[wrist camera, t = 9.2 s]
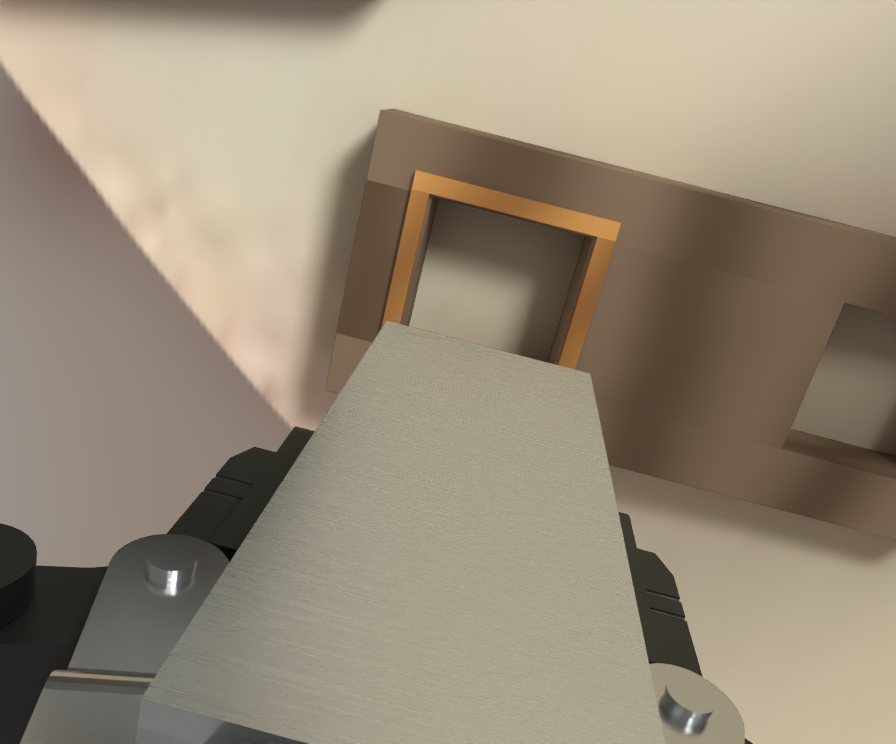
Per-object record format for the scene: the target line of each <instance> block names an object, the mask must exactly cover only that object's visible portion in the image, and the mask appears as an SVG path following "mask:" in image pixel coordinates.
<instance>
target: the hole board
mask: <svg viewBox="0 0 896 744" xmlns="http://www.w3.org/2000/svg"><path fill="white" fill-rule="evenodd" d="M438 198H440V199H444V200H448V201H452V202H456V203H459V204H463V205H467V206H471V207H475V208H479V209H483V210H487V211H490V212H494V213H498V214H502V215H506V216H510V217H514V218H518V219H522V220H525V221H529V222H533V223H537V224H541V225H545V226H549V227H553V228H556V229H560V230H564V231H568V232H572V233H576V234H580V235H584V236H585V239H584V243H583V246H582V249H581V253H580V256H579V259H578V262H577V266H576V269H575V272H574V276H573V279H572V282H571V286H570V289H569V292H568V296H567V299H566V302H565V306H564V309H563V312H562V316H561V319H560V322H559V325H558V329H557V332H556V335H555V339H554V342H553V345H552V349H551V352H550V355H549V359H548V362H547V363H551V364H555V365H559V366H563V367H566V368H570V369H574V370H578V371H582V372H586V373H589V374H590V375H591V380H592V385H593V390H594V395H595V400H596V404H597V409H598V414H599V419H600V424H601V429H602V434H603V439H604V444H605V449H606V454H607V459H608V464H609V465H612V466H616V467H620V468H624V469H628V470H631V471H635V472H639V473H643V474H647V475H650V476H654V477H658V478H662V479H666V480H670V481H673V482H677V483H681V484H685V485H689V486H692V487H696V488H700V489H704V490H708V491H711V492H715V493H719V494H723V495H727V496H730V497H734V498H738V499H742V500H746V501H750V502H753V503H757V504H761V505H765V506H769V507H772V508H776V509H780V510H784V511H788V512H791V513H795V514H799V515H803V516H807V517H810V518H814V519H818V520H822V521H826V522H830V523H833V524H837V525H841V526H845V527H849V528H852V529H856V530H860V531H864V532H868V533H871V534H875V535H879V536H883V537H887V538H890V539H894V540H896V456H892V455H888V454H884V453H880V452H876V451H873V450H869V449H865V448H861V447H857V446H853V445H850V444H846V443H842V442H838V441H834V440H830V439H827V438H823V437H819V436H815V435H811V434H807V433H804V432H800V431H796V430H792V429H790V428H791V426H792V423H793V421H794V419H795V416H796V414H797V412H798V409H799V407H800V405H801V402H802V400H803V398H804V396H805V393H806V391H807V389H808V386H809V384H810V382H811V379H812V377H813V375H814V372H815V370H816V368H817V365H818V363H819V361H820V359H821V356H822V354H823V352H824V349H825V347H826V345H827V342H828V340H829V338H830V335H831V333H832V331H833V328H834V326H835V324H836V321H837V319H838V317H839V315H840V312H841V310H842V308H843V305H844V303H848V304H852V305H855V306H859V307H863V308H867V309H871V310H875V311H879V312H883V313H886V314H890V315H894V316H896V237H892V236H888V235H884V234H881V233H877V232H873V231H869V230H865V229H861V228H857V227H853V226H849V225H845V224H841V223H838V222H834V221H830V220H826V219H822V218H818V217H814V216H810V215H806V214H802V213H799V212H795V211H791V210H787V209H783V208H779V207H775V206H771V205H767V204H763V203H759V202H756V201H752V200H748V199H744V198H740V197H736V196H732V195H728V194H724V193H720V192H716V191H713V190H709V189H705V188H701V187H697V186H693V185H689V184H685V183H681V182H677V181H673V180H670V179H666V178H662V177H658V176H654V175H650V174H646V173H642V172H638V171H634V170H630V169H627V168H623V167H619V166H615V165H611V164H607V163H603V162H599V161H595V160H591V159H587V158H584V157H580V156H576V155H572V154H568V153H564V152H560V151H556V150H552V149H548V148H544V147H541V146H537V145H533V144H529V143H525V142H521V141H517V140H513V139H509V138H505V137H501V136H498V135H494V134H490V133H486V132H482V131H478V130H474V129H470V128H466V127H462V126H458V125H455V124H451V123H447V122H443V121H439V120H435V119H431V118H427V117H423V116H419V115H415V114H412V113H408V112H404V111H400V110H396V109H387V110H380V115H379V120H378V125H377V130H376V135H375V140H374V145H373V150H372V155H371V160H370V165H369V170H368V176H367V181H366V186H365V191H364V196H363V201H362V206H361V211H360V216H359V221H358V226H357V231H356V236H355V241H354V247H353V252H352V257H351V262H350V267H349V272H348V277H347V282H346V287H345V292H344V297H343V302H342V307H341V313H340V318H339V323H338V328H337V333H336V338H335V343H334V348H333V353H332V358H331V363H330V368H329V373H328V378H327V384H326V389H325V390H327V391H330V392H334V393H338V394H339V393H340V392H341V390H342V389H343V387H344V386H345V384H346V383H347V381H348V380H349V378H350V377H351V375H352V373H353V372H354V370H355V369H356V367H357V366H358V364H359V363H360V361H361V360H362V358H363V357H364V355H365V353H366V352H367V350H368V349H369V347H370V346H371V344H372V343H373V341H374V340H375V338H376V337H377V335H378V333H379V332H380V330H381V329H382V327H383V326H384V324H385V323H386V321H390V322H394V323H398V324H402V325H405V326H409V323H410V319H411V315H412V310H413V306H414V302H415V297H416V293H417V289H418V284H419V280H420V276H421V271H422V267H423V263H424V258H425V254H426V250H427V245H428V241H429V237H430V232H431V228H432V224H433V219H434V215H435V211H436V206H437V202H438Z"/></svg>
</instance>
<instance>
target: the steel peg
mask: <svg viewBox="0 0 896 744" xmlns="http://www.w3.org/2000/svg"><path fill="white" fill-rule="evenodd" d="M138 727H140V728H144V729H147V730H151V731H155V732H159V733H162V734H166V735H170V736H173V737H177V738H181V739H184V740H188V741H192V742H195V743H199V744H665V740H664V735H663V730H662V725H661V720H660V715H659V710H658V705H657V701H656V696H655V691H654V686H653V681H652V676H651V671H650V666H649V661H648V656H647V651H646V646H645V641H644V636H643V631H642V627H641V622H640V617H639V612H638V607H637V602H636V597H635V592H634V587H633V582H632V577H631V572H630V567H629V562H628V557H627V553H626V548H625V543H624V538H623V533H622V528H621V523H620V518H619V513H618V508H617V503H616V498H615V493H614V488H613V483H612V478H611V474H610V469H609V464H608V459H607V454H606V449H605V444H604V439H603V434H602V429H601V424H600V419H599V414H598V409H597V404H596V400H595V395H594V390H593V385H592V380H591V375H590V374H589V373H586V372H582V371H578V370H574V369H570V368H566V367H563V366H559V365H555V364H551V363H547V362H543V361H540V360H536V359H532V358H528V357H524V356H520V355H517V354H513V353H509V352H505V351H501V350H497V349H494V348H490V347H486V346H482V345H478V344H474V343H471V342H467V341H463V340H459V339H455V338H451V337H448V336H444V335H440V334H436V333H432V332H428V331H425V330H421V329H417V328H413V327H409V326H405V325H402V324H398V323H394V322H390V321H386V323H385V324H384V326H383V327H382V329H381V330H380V332H379V333H378V335H377V337H376V338H375V340H374V341H373V343H372V344H371V346H370V347H369V349H368V350H367V352H366V353H365V355H364V357H363V358H362V360H361V361H360V363H359V364H358V366H357V367H356V369H355V370H354V372H353V373H352V375H351V377H350V378H349V380H348V381H347V383H346V384H345V386H344V387H343V389H342V390H341V392H340V393H339V395H338V396H337V398H336V400H335V401H334V403H333V404H332V406H331V407H330V409H329V410H328V412H327V413H326V415H325V416H324V418H323V420H322V421H321V423H320V424H319V426H318V427H317V429H316V430H315V432H314V433H313V435H312V436H311V438H310V440H309V441H308V443H307V444H306V446H305V447H304V449H303V450H302V452H301V453H300V455H299V456H298V458H297V460H296V461H295V463H294V464H293V466H292V467H291V469H290V470H289V472H288V473H287V475H286V476H285V478H284V480H283V481H282V483H281V484H280V486H279V487H278V489H277V490H276V492H275V493H274V495H273V496H272V498H271V500H270V501H269V503H268V504H267V506H266V507H265V509H264V510H263V512H262V513H261V515H260V516H259V518H258V520H257V521H256V523H255V524H254V526H253V527H252V529H251V530H250V532H249V533H248V535H247V536H246V538H245V540H244V541H243V543H242V544H241V546H240V547H239V549H238V550H237V552H236V553H235V555H234V556H233V558H232V560H231V561H230V563H229V564H228V566H227V567H226V569H225V570H224V572H223V573H222V575H221V576H220V578H219V580H218V581H217V583H216V584H215V586H214V587H213V589H212V590H211V592H210V593H209V595H208V596H207V598H206V600H205V601H204V603H203V604H202V606H201V607H200V609H199V610H198V612H197V613H196V615H195V616H194V618H193V620H192V621H191V623H190V624H189V626H188V627H187V629H186V630H185V632H184V633H183V635H182V636H181V638H180V639H179V641H178V643H177V644H176V646H175V647H174V649H173V650H172V652H171V653H170V655H169V656H168V658H167V659H166V661H165V663H164V664H163V666H162V667H161V669H160V670H159V672H158V673H157V675H156V676H155V678H154V679H153V681H152V683H151V684H150V686H149V687H148V689H147V690H146V692H145V693H144V695H143V696H142V698H141V704H140V712H139V720H138Z"/></svg>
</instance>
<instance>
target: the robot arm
mask: <svg viewBox="0 0 896 744" xmlns="http://www.w3.org/2000/svg"><path fill="white" fill-rule="evenodd" d="M314 432H315V431H311V430H308V429H304V428H300V427H294V428H293V430H292V431H291V432H290V434H289V435H288V437H287V438H286V440H285V441H284V442H283V444H282V445H281V447H280V448H279V449H278V451H277V452H272V451H268V450H265V449H261V448H257V447H253V448H251V449H249V450H247V451H245V452H242V453H240V454H238V455H235V456H233V457H231V458H230V459H229V460H228V461H227V462H226V463H225V465H224V466H223V467H222V468H221V469H220V471H219V472H218V473H217V474H216V477H215V478H213V479H212V480H211V481H210V482H209V484H208V485H207V486H206V487H205V490H204V492H201V493H200V495H199V496H198V497H197V498H196V499H195V501H194V502H193V503H192V504H191V505H190V507H189V508H188V509H187V510H186V511H185V513H184V514H183V515H182V516H181V517H180V518H179V520H178V521H177V522H176V523H175V524H174V526H173V527H172V528H171V529H170V530H169V532H168V533H167V534H160V535H152V536H148V537H144V538H140V539H138V540H135V541H132V542H130V543H128V544H127V545H125V546H123V547H122V548H121V549H119V550H118V551H117V552H116V553H115V555H114V556H113V557H112V559H111V561H110V563H109V566H107V567H96V568H77V567H55V566H36V558H37V551H36V546H35V544H34V542H33V540H32V539H31V538H30V537H29V536H28V535H27V534H25V533H24V532H22V531H21V530H18V529H16V528H14V527H11V526H8V525H4V524H0V744H199V743H195V742H192V741H188V740H184V739H181V738H177V737H173V736H170V735H166V734H162V733H159V732H155V731H151V730H147V729H144V728H140V727H138V720H139V712H140V704H141V698H142V696H143V695H144V693H145V692H146V690H147V689H148V687H149V686H150V684H151V683H152V681H153V679H154V678H155V676H156V675H157V673H158V672H159V670H160V669H161V667H162V666H163V664H164V663H165V661H166V659H167V658H168V656H169V655H170V653H171V652H172V650H173V649H174V647H175V646H176V644H177V643H178V641H179V639H180V638H181V636H182V635H183V633H184V632H185V630H186V629H187V627H188V626H189V624H190V623H191V621H192V620H193V618H194V616H195V615H196V613H197V612H198V610H199V609H200V607H201V606H202V604H203V603H204V601H205V600H206V598H207V596H208V595H209V593H210V592H211V590H212V589H213V587H214V586H215V584H216V583H217V581H218V580H219V578H220V576H221V575H222V573H223V572H224V570H225V569H226V567H227V566H228V564H229V563H230V561H231V560H232V558H233V556H234V555H235V553H236V552H237V550H238V549H239V547H240V546H241V544H242V543H243V541H244V540H245V538H246V536H247V535H248V533H249V532H250V530H251V529H252V527H253V526H254V524H255V523H256V521H257V520H258V518H259V516H260V515H261V513H262V512H263V510H264V509H265V507H266V506H267V504H268V503H269V501H270V500H271V498H272V496H273V495H274V493H275V492H276V490H277V489H278V487H279V486H280V484H281V483H282V481H283V480H284V478H285V476H286V475H287V473H288V472H289V470H290V469H291V467H292V466H293V464H294V463H295V461H296V460H297V458H298V456H299V455H300V453H301V452H302V450H303V449H304V447H305V446H306V444H307V443H308V441H309V440H310V438H311V436H312V435H313V433H314ZM618 513H619V518H620V523H621V528H622V533H623V538H624V543H625V548H626V553H627V557H628V562H629V567H630V572H631V577H632V582H633V587H634V592H635V597H636V602H637V607H638V612H639V617H640V622H641V627H642V631H643V636H644V641H645V646H646V651H647V656H648V661H649V666H650V671H651V676H652V681H653V686H654V691H655V696H656V701H657V705H658V710H659V715H660V720H661V725H662V730H663V735H664V740H665V744H753V743H751V742H750V741H748V740H747V739H745V729H744V723H743V720H742V717H741V715H740V713H739V711H738V710H737V708H736V707H735V705H734V704H733V703H732V701H731V700H730V699H729V698H728V697H727V696H726V695H725V694H724V693H723V692H722V691H721V690H720V689H719V688H718V687H716V686H715V685H714V684H712V683H711V682H710V681H708V680H706V679H705V678H703V677H702V673H701V670H700V666H699V663H698V659H697V656H696V653H695V649H694V646H693V642H692V639H691V635H690V632H689V628H688V625H687V621H684V619H685V614H684V611H683V607H682V604H681V602H679V599H680V597H679V594H678V590H677V587H676V583H675V580H674V576H673V575H672V574H671V572H670V571H669V570H668V569H667V567H666V566H665V565H664V564H663V563H662V561H661V560H660V559H659V558H658V556H657V555H656V554H655V553H652V552H648V551H644V550H641V549H637V547H636V543H635V538H634V534H633V529H632V525H631V521H630V517H629V515H627V514H624V513H620V512H618Z"/></svg>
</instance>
